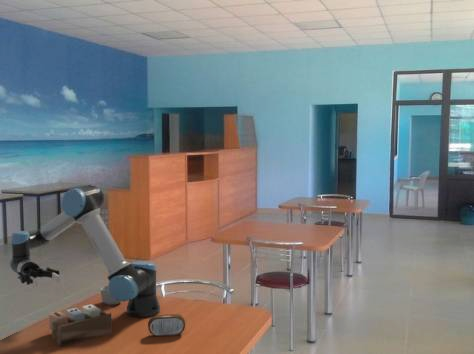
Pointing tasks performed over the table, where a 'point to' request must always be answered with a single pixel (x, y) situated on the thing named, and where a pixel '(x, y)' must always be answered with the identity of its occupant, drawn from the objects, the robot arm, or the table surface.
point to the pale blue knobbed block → (75, 314)
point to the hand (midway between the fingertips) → (47, 281)
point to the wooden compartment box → (82, 329)
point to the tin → (166, 325)
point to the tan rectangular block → (58, 318)
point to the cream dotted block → (91, 310)
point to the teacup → (108, 296)
